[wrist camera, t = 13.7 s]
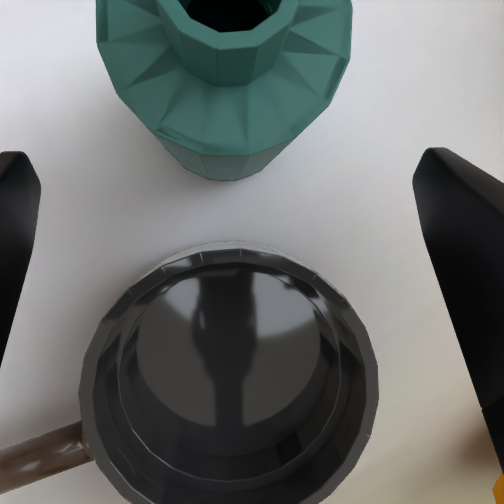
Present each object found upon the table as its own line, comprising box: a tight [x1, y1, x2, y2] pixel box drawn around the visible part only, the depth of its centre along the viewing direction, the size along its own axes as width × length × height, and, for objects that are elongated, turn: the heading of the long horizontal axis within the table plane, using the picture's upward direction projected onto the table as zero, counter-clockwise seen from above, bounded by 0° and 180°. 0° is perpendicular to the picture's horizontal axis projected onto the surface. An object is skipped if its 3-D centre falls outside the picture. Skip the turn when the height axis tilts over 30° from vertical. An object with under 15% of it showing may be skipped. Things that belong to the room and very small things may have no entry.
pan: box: [78, 241, 379, 504], centre depth 20 cm, size 13×13×4 cm
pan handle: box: [0, 421, 95, 495], centre depth 18 cm, size 9×2×2 cm, turn 109°
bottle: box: [96, 0, 353, 181], centre depth 14 cm, size 7×7×12 cm
